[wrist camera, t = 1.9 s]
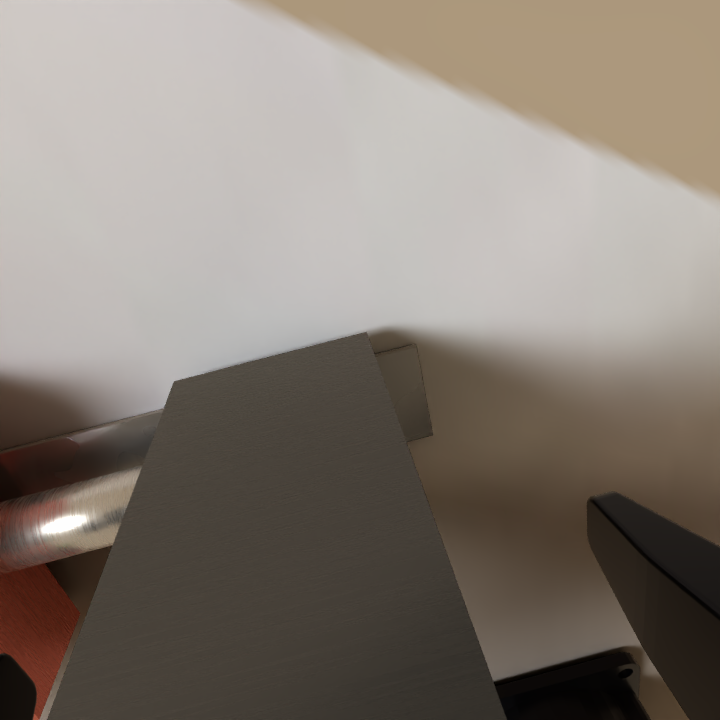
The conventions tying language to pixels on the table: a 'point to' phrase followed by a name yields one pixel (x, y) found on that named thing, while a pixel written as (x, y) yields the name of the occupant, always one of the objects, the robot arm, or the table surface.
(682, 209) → the table surface
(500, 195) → the table surface
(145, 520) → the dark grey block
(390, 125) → the table surface
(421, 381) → the rail
